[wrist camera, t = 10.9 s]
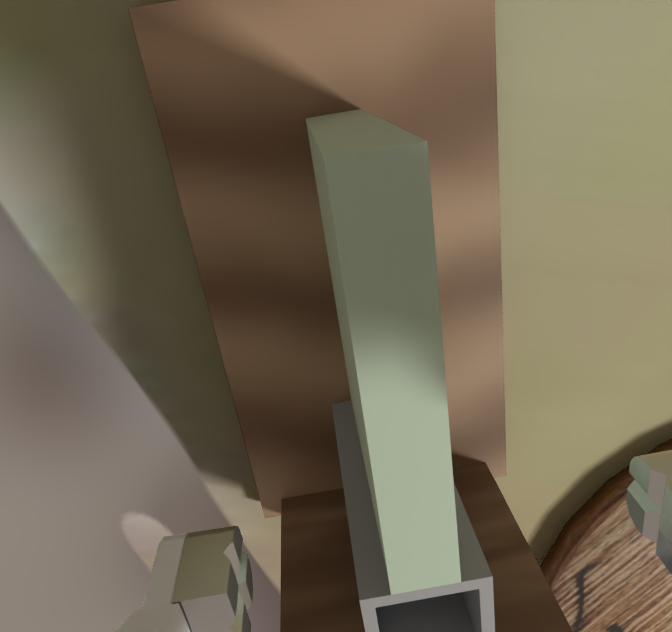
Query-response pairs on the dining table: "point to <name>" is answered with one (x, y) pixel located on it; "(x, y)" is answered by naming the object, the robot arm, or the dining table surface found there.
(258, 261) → the cabinet base
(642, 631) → the trivet
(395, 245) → the pale green grey block
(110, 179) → the dining table surface
